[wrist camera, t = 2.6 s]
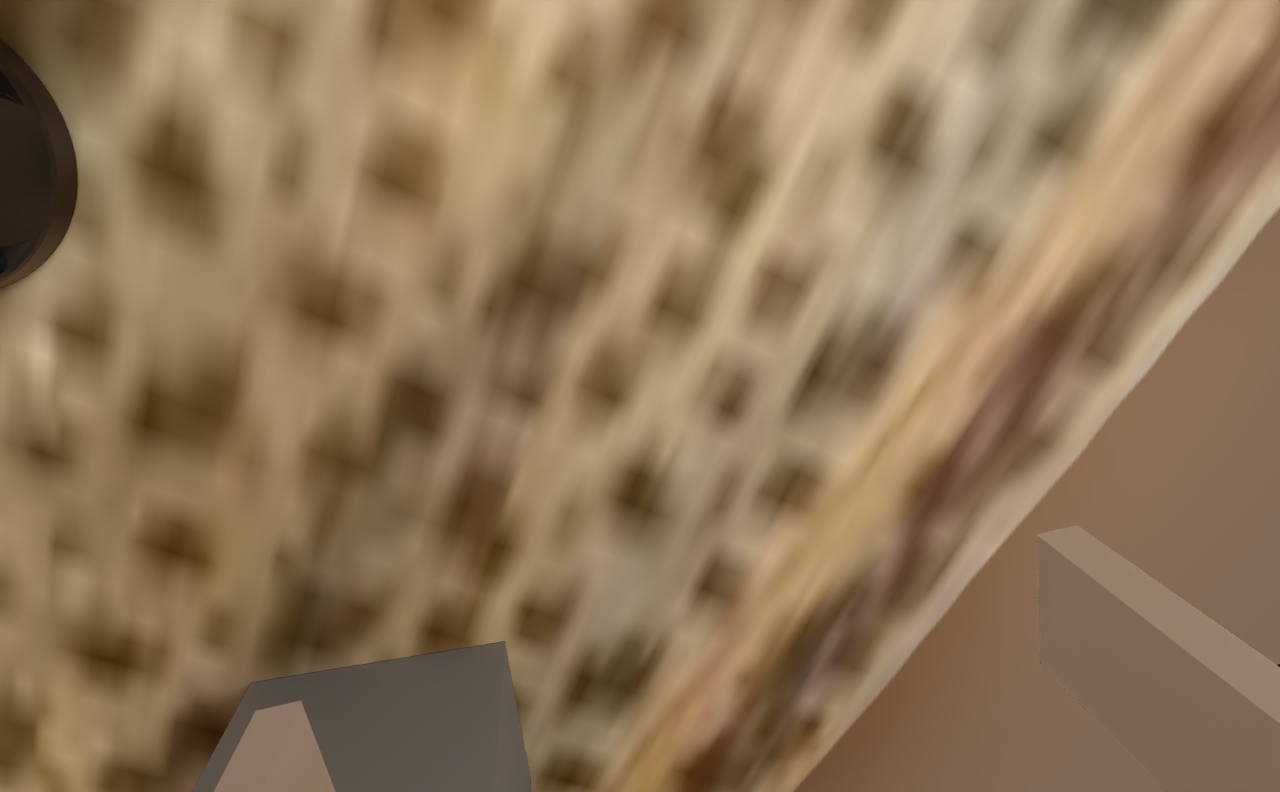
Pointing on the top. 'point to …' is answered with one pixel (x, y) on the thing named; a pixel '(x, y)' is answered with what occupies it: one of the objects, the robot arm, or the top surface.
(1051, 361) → the top surface
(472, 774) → the slate podium
